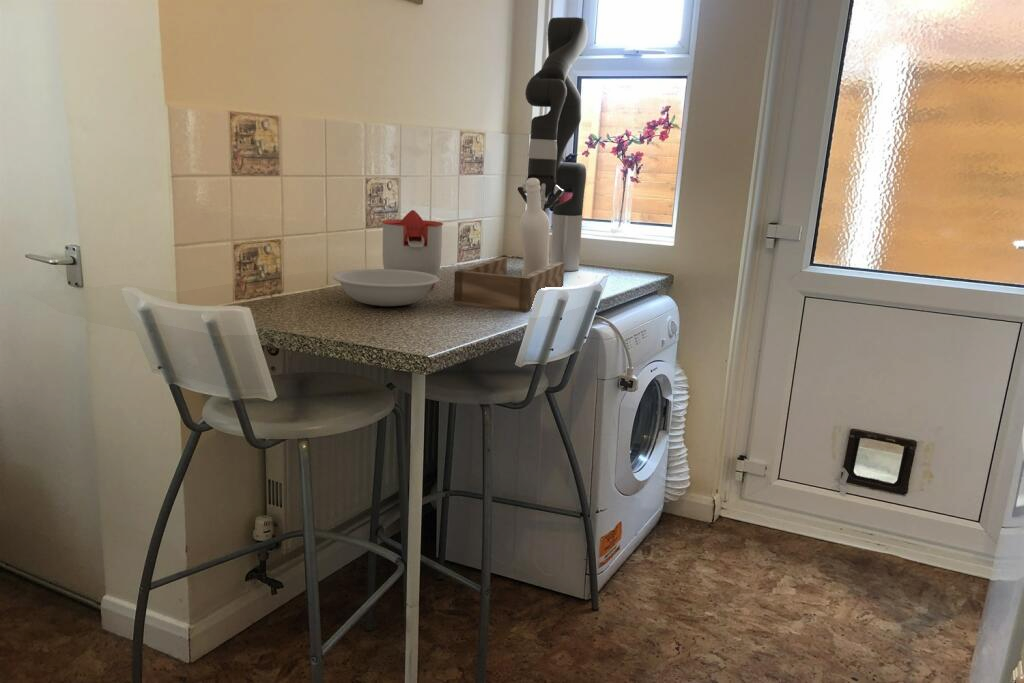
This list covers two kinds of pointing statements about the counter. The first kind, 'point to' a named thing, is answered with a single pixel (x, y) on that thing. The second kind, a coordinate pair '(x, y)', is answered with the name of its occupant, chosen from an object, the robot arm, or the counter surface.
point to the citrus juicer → (412, 244)
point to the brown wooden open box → (503, 285)
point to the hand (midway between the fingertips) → (538, 223)
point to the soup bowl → (386, 285)
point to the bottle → (534, 231)
